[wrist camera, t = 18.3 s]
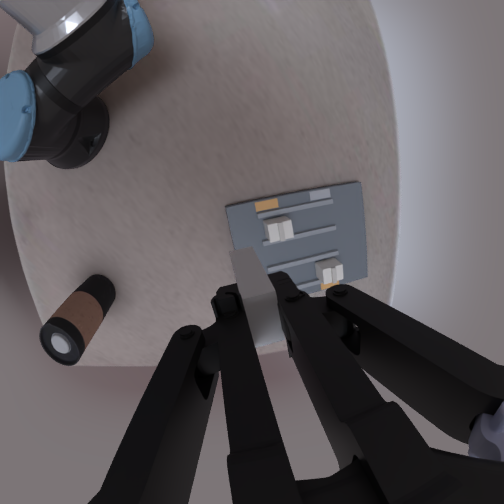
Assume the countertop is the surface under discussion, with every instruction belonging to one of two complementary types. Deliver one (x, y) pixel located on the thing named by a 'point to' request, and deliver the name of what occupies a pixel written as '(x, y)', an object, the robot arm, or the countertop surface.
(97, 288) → the travel mug
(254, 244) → the switch board
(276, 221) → the tab
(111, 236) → the countertop surface
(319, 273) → the tab
